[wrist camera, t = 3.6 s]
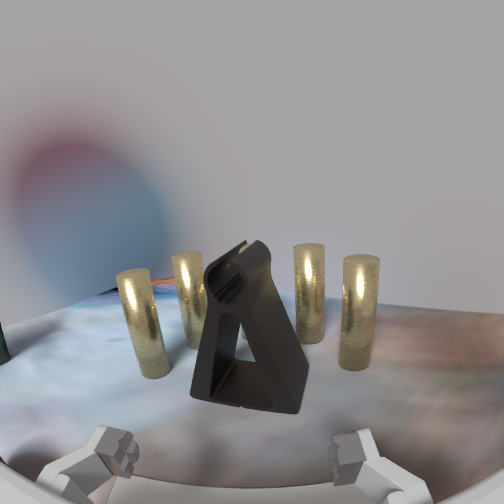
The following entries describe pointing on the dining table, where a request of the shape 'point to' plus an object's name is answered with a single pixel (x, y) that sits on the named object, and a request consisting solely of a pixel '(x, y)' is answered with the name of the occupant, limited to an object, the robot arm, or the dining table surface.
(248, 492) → the mat
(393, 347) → the dining table surface
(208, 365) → the phone stand
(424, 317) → the dining table surface
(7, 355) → the green animal figurine
